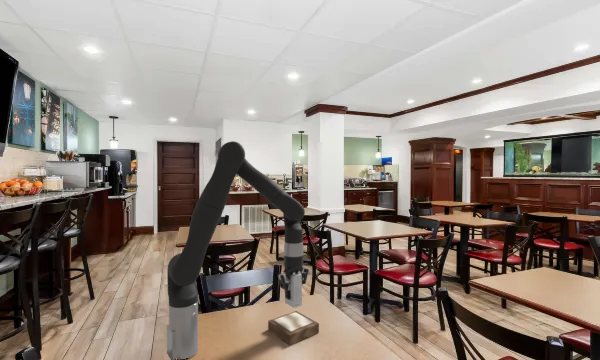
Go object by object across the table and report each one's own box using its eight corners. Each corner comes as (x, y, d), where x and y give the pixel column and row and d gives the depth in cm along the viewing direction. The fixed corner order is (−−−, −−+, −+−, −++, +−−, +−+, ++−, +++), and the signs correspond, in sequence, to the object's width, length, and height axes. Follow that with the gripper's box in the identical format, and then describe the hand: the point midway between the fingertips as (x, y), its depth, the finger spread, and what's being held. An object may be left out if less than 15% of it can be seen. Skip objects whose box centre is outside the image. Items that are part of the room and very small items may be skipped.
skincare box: (302, 305, 118) (302, 274, 118) (293, 308, 115) (293, 276, 115) (292, 300, 123) (293, 270, 123) (283, 303, 120) (283, 272, 120)
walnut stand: (289, 345, 110) (290, 334, 109) (268, 329, 120) (268, 319, 120) (318, 332, 118) (318, 322, 118) (296, 319, 129) (296, 309, 129)
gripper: (284, 258, 111) (284, 305, 112) (313, 252, 121) (313, 295, 121) (272, 254, 117) (272, 299, 118) (301, 248, 126) (301, 290, 127)
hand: (293, 297), depth 119 cm, fingers closed on skincare box, 4 cm apart
